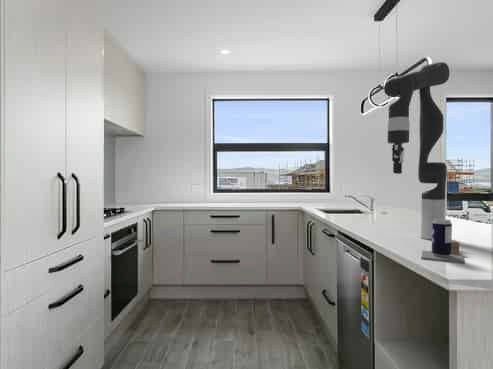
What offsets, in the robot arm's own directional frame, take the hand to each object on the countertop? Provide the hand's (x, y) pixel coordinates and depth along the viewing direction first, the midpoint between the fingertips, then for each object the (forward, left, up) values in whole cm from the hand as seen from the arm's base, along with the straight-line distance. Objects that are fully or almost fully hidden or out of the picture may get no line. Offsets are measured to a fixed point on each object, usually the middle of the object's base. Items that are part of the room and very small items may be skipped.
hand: (397, 173), depth 133 cm
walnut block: (+1, +17, -28) cm, 33 cm away
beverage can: (+10, +15, -28) cm, 33 cm away
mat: (+10, +15, -28) cm, 33 cm away
